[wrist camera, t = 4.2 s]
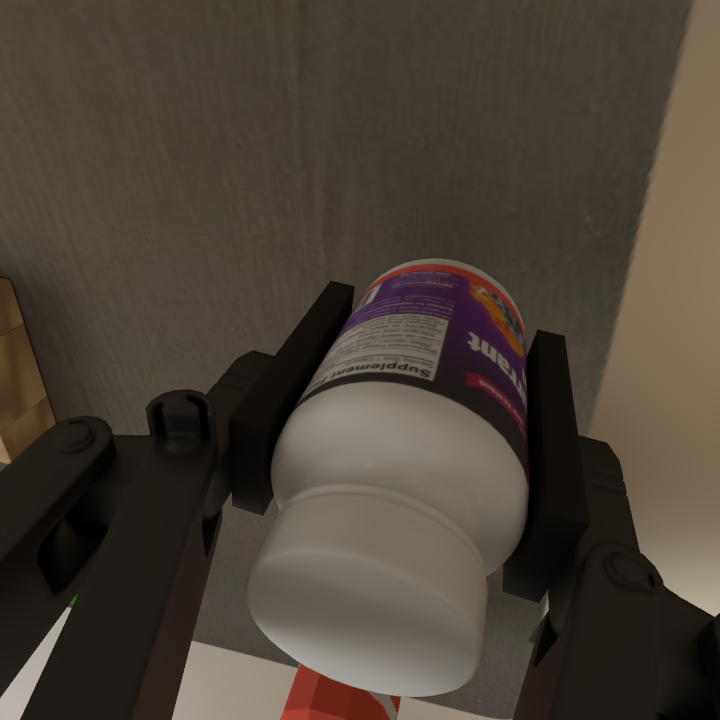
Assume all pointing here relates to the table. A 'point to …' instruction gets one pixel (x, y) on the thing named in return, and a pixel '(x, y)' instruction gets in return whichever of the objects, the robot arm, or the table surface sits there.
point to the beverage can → (335, 700)
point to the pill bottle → (400, 485)
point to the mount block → (19, 382)
